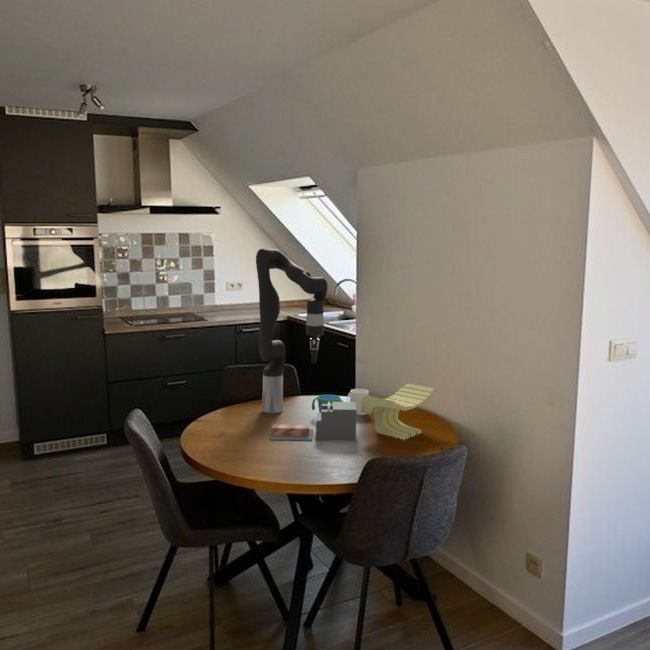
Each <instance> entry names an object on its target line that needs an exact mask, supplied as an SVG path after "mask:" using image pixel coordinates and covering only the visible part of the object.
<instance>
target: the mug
mask: <svg viewBox="0 0 650 650" xmlns="http://www.w3.org/2000/svg"><path fill="white" fill-rule="evenodd" d="M369 393H370V392H369V390H368V389H365V388H353V389H352V388H351V390H350V392H349V393H348V394H347V397H346V402H355V403H356V410H357V411H356V416H357V415H362V416H366V415H368V414H367V413H363V412H361V401H362V398H363V397H364V396H370V394H369ZM365 414H366V415H365Z"/></svg>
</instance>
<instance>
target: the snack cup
mask: <svg viewBox="0 0 650 650" xmlns="http://www.w3.org/2000/svg"><path fill="white" fill-rule="evenodd" d="M316 401H317V405H318V413H321V410H322V404H327V403H328V402H330V404H332V403H333V402H345V401H344V400H343V399H342V397H341V396H338V395H336V394H320V395H318V396H317V397H315V398H314V399H313V400H312V402H311V409H312V411H315V409H316V406H315V402H316Z"/></svg>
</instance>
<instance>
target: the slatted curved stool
mask: <svg viewBox="0 0 650 650" xmlns="http://www.w3.org/2000/svg"><path fill="white" fill-rule="evenodd" d="M435 392H436V391H435V388H433V387H429V386H428V387H427V386H423V385H419V384H413V383H407V384H404V385H403V386H402V387H401V388H400V389H398V391H396V392H395V393H394V394H393V395H390V396H388V397H386V398H380V397H376V396H373V395H369V396H364V397H363V398H362V401H361V412H363V413H367V414H366V415H370V414H372V413H373V417H374V426H375V431H376V432H377V433H378V434H379V433H381V434H380V435H382V434H385V435H384V436H386V435H389V436H388V437H390V436H393V437H396V438H395V439H397V438H400V439H399V440H401V439H403V440H402V441H406V440H405V439H407V440H409V439H411V438H410V437H412V438H414V437H416V436H417V435H416V434H419V435H421V434H420V433H422V434H423V432H422V429H421V428H416V427H413V426H410V425H407V424H405V423H403V422H402V421H401V420H400V419H399V413H400V411H402V412H403V411H404V412H406V411H409V410H413V409H415V408H417V407H418V408H419V407H421V406H424V403H427V402H428V400H429V399H431V397H433V396H435ZM415 435H416V436H415ZM413 436H414V437H413ZM393 437H392V438H393ZM408 438H409V439H408Z"/></svg>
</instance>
